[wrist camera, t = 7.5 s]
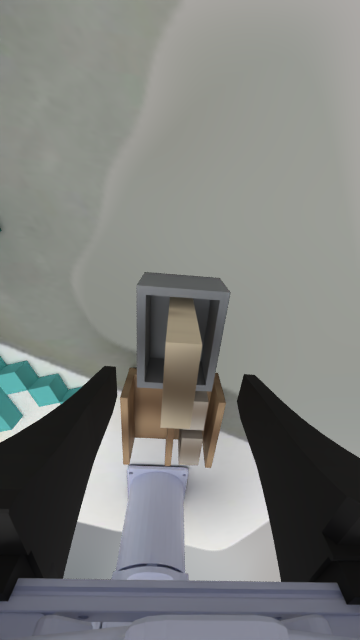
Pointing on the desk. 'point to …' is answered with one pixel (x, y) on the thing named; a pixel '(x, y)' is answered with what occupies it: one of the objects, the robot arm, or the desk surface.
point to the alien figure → (21, 378)
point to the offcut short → (199, 411)
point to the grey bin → (154, 319)
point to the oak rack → (145, 418)
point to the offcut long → (189, 446)
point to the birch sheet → (180, 364)
